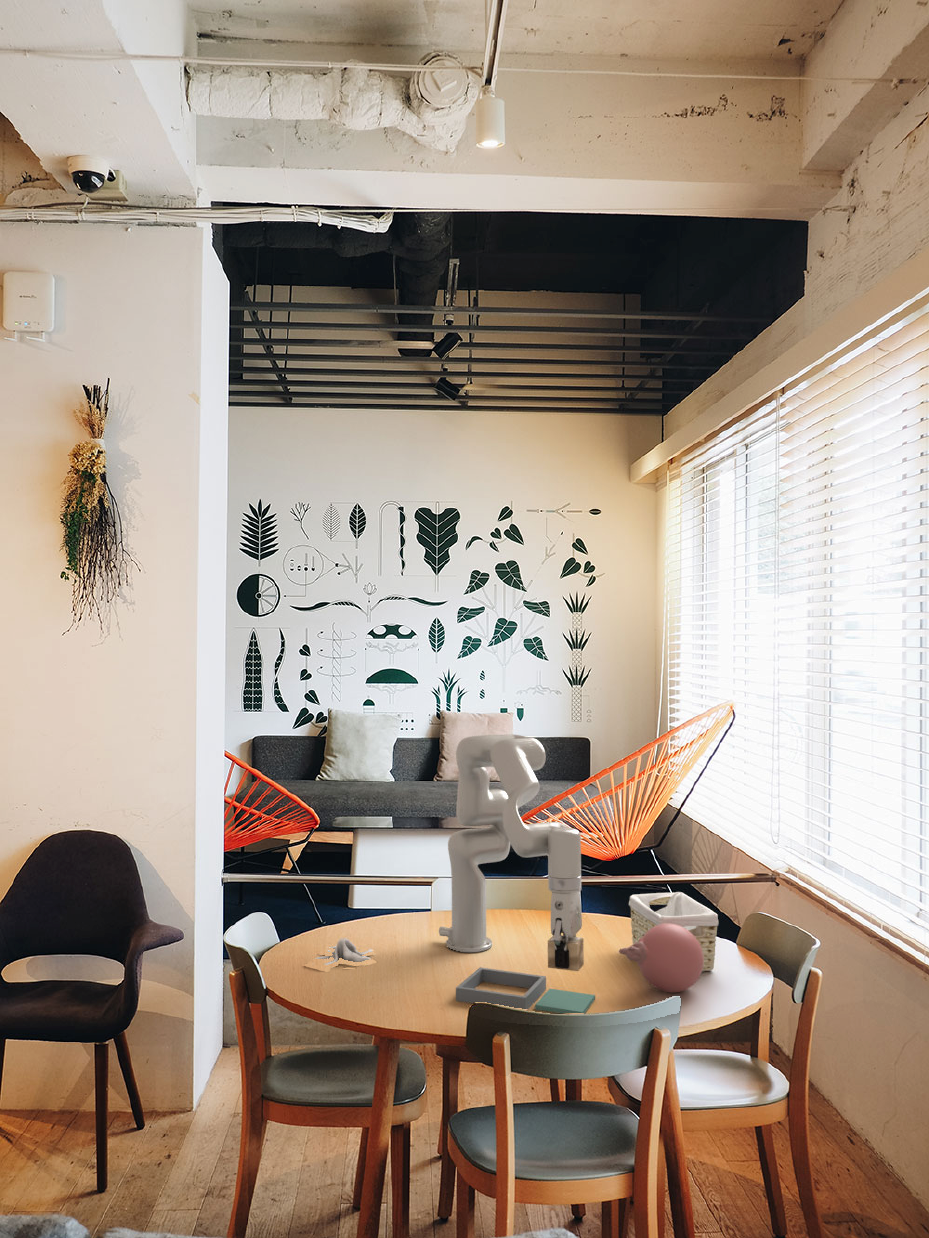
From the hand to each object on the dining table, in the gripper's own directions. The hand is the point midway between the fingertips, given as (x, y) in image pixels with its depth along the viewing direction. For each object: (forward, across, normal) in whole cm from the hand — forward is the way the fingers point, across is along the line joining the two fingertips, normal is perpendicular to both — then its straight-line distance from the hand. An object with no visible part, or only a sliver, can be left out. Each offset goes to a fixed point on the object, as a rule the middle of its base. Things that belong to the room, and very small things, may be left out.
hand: (565, 962), depth 209 cm
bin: (+9, 0, +16) cm, 18 cm away
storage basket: (+10, +41, -17) cm, 45 cm away
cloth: (+10, +8, +62) cm, 63 cm away
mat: (+9, 0, 0) cm, 9 cm away
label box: (+1, 0, 0) cm, 1 cm away
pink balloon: (+10, +17, -18) cm, 27 cm away
